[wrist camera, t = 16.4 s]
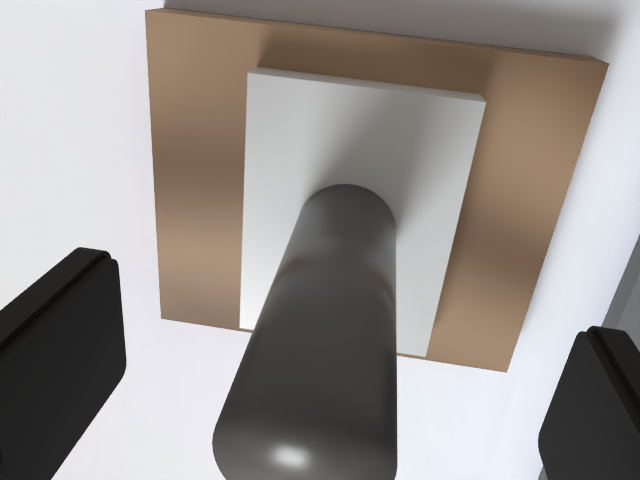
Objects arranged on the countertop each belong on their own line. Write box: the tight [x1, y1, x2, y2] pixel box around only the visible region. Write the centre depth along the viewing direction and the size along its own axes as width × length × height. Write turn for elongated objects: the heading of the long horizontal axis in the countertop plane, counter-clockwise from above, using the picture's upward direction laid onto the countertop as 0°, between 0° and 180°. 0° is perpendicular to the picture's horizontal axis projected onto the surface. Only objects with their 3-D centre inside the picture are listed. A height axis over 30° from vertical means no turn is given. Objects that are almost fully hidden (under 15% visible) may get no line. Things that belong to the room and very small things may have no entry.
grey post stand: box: [212, 67, 486, 480], centre depth 12 cm, size 8×6×9 cm
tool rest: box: [145, 8, 609, 372], centre depth 16 cm, size 10×12×1 cm
